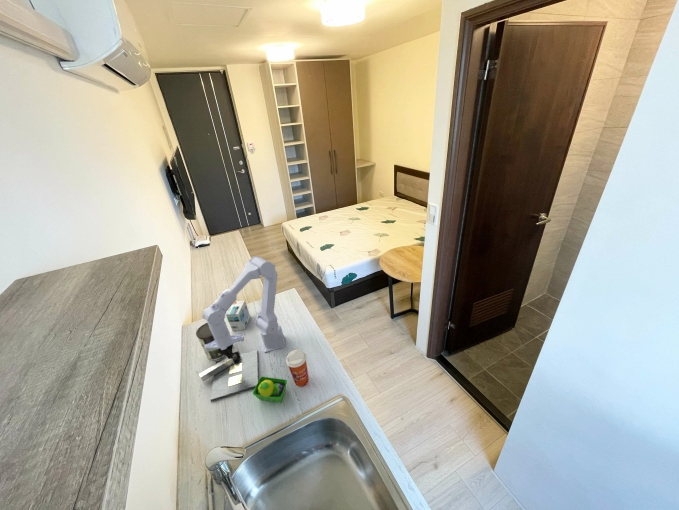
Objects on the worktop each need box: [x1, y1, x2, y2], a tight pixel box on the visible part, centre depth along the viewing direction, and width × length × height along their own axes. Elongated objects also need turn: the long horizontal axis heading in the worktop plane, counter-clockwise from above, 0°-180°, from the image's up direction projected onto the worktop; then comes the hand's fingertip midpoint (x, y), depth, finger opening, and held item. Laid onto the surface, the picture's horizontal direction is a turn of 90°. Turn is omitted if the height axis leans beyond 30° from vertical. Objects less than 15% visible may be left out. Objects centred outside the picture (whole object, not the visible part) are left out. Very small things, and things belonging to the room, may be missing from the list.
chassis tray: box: [209, 348, 259, 402], centre depth 114 cm, size 18×19×5 cm
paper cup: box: [285, 348, 309, 388], centre depth 106 cm, size 8×8×14 cm
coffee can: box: [195, 322, 226, 361], centre depth 124 cm, size 10×10×14 cm
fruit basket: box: [252, 376, 288, 404], centre depth 102 cm, size 11×9×11 cm
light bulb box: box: [225, 300, 251, 331], centre depth 140 cm, size 11×7×11 cm, turn 179°
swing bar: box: [198, 354, 239, 383], centre depth 115 cm, size 2×16×3 cm, turn 130°
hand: (231, 357), depth 113 cm, fingers closed
